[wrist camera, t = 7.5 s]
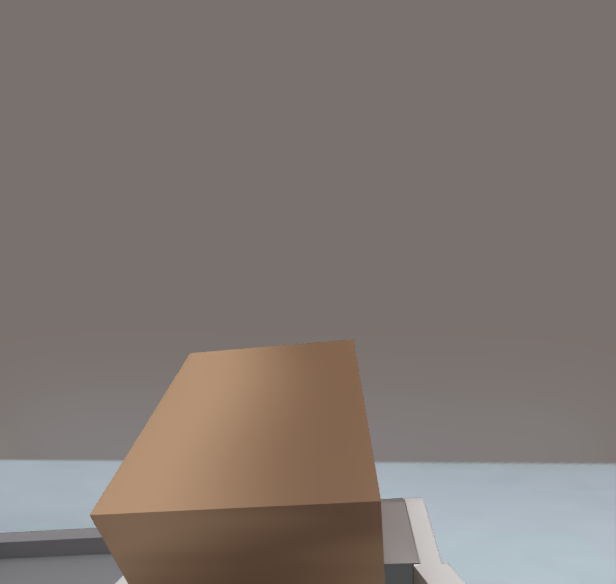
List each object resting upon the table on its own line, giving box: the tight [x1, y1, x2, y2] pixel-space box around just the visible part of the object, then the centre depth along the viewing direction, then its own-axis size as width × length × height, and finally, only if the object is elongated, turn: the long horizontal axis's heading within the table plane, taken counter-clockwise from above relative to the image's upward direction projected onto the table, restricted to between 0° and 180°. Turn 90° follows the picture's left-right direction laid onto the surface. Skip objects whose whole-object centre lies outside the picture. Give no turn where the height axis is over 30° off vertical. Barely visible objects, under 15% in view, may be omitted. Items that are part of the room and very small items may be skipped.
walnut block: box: [90, 340, 385, 584], centre depth 9 cm, size 4×4×11 cm
